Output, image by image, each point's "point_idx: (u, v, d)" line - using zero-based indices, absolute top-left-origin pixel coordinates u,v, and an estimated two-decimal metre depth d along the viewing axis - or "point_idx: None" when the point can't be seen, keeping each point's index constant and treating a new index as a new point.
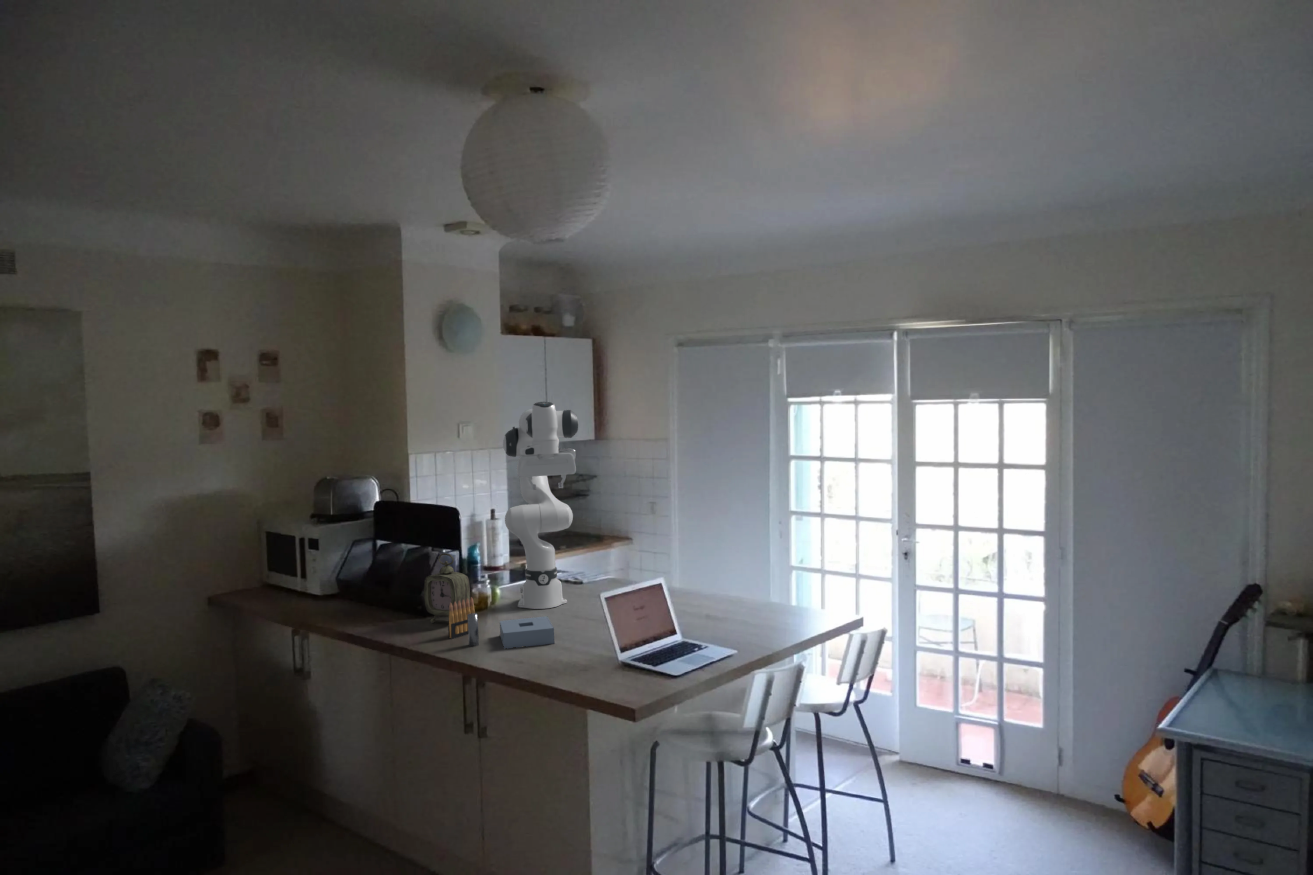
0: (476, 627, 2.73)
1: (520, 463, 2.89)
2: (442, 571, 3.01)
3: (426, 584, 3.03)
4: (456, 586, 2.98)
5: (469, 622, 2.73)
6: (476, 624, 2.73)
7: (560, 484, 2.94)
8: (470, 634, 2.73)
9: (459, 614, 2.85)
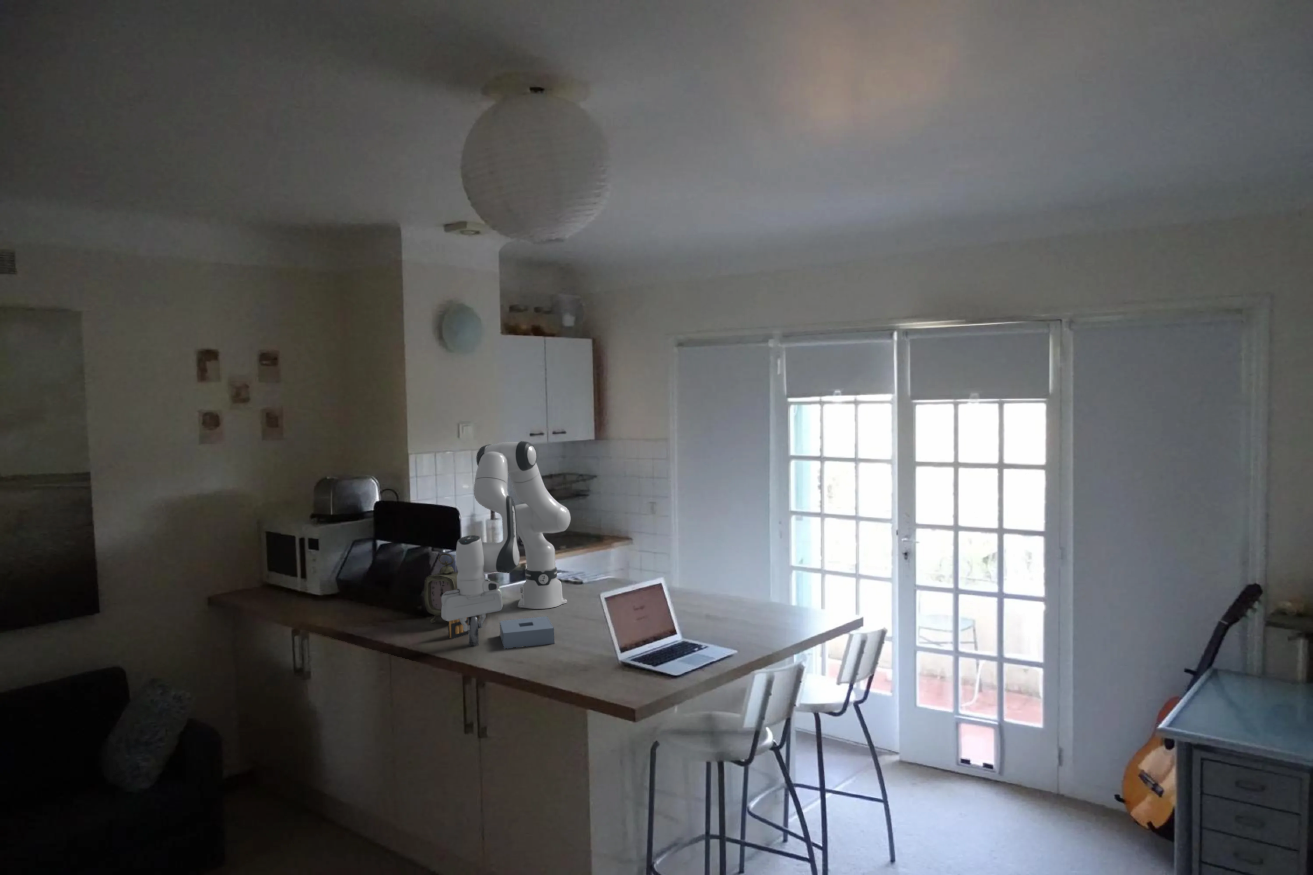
0: (476, 627, 2.73)
1: None
2: (442, 571, 3.01)
3: (426, 584, 3.03)
4: (456, 586, 2.98)
5: (469, 622, 2.73)
6: (476, 624, 2.73)
7: None
8: (470, 634, 2.73)
9: None
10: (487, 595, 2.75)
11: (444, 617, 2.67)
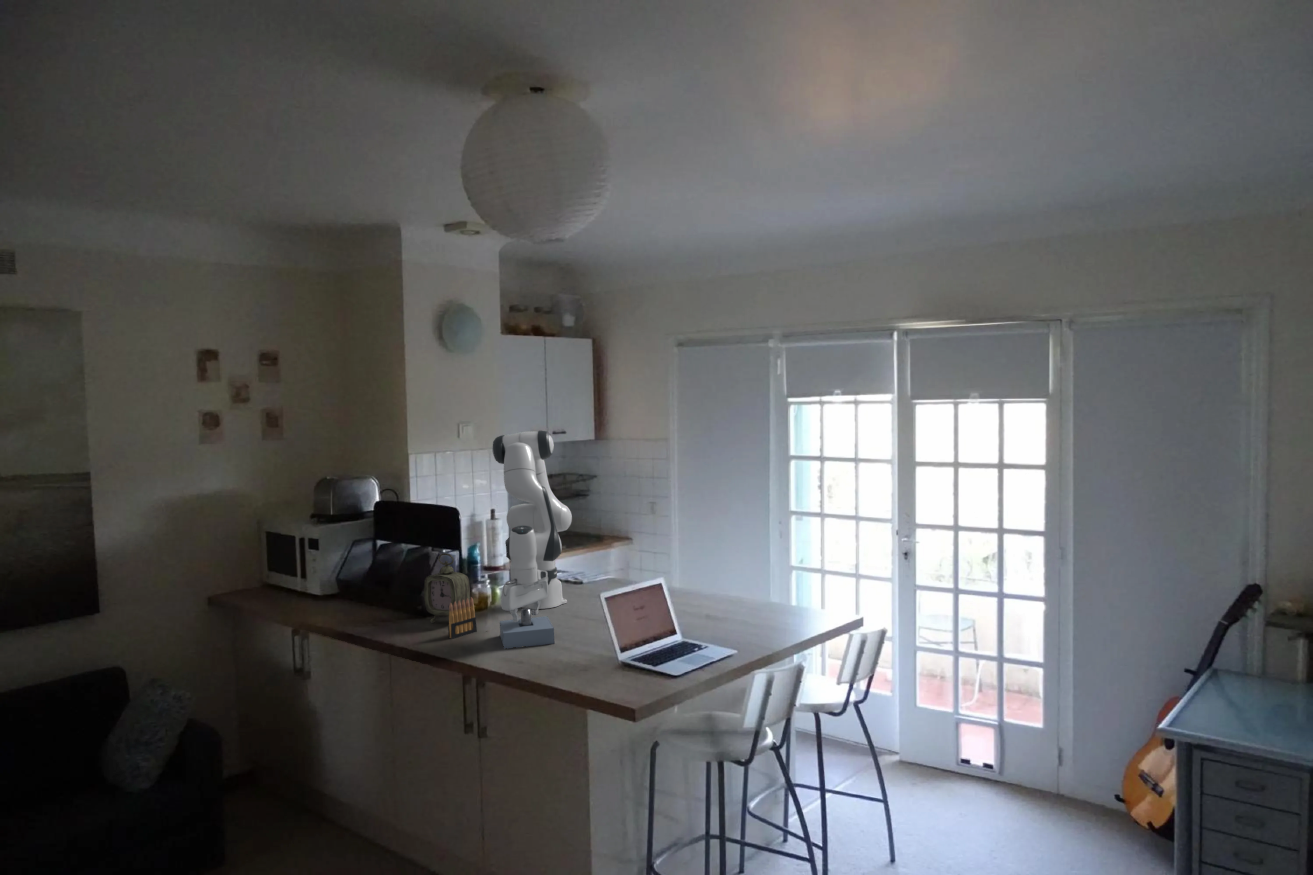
0: (530, 621, 2.78)
1: None
2: (442, 571, 3.01)
3: (426, 584, 3.03)
4: (456, 586, 2.98)
5: (524, 617, 2.77)
6: (530, 618, 2.78)
7: None
8: None
9: (459, 614, 2.85)
10: (538, 583, 2.81)
11: (507, 607, 2.69)
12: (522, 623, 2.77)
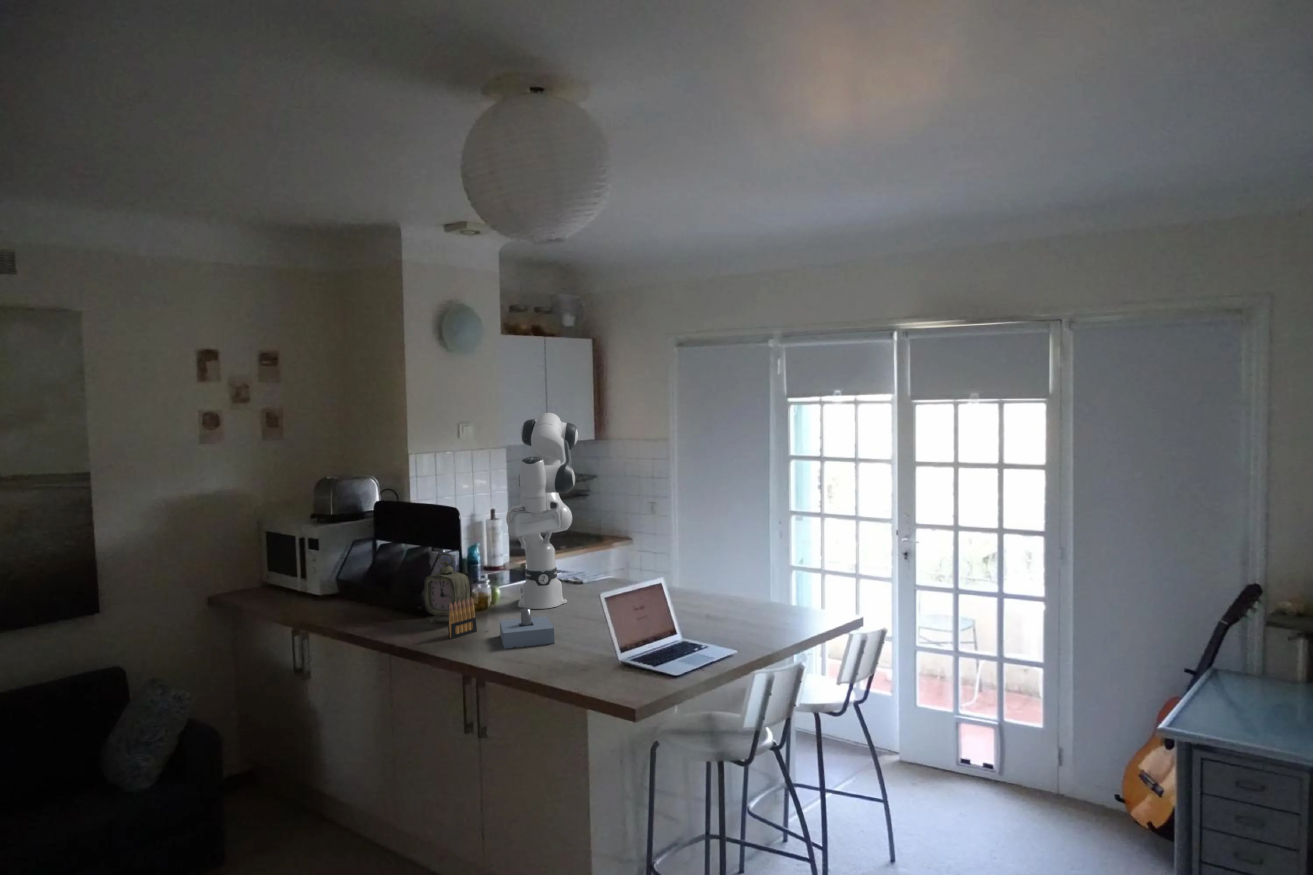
0: (530, 621, 2.78)
1: None
2: (442, 571, 3.01)
3: (426, 584, 3.03)
4: (456, 586, 2.98)
5: (524, 617, 2.77)
6: (530, 618, 2.78)
7: None
8: None
9: (459, 614, 2.85)
10: (548, 514, 2.88)
11: (512, 533, 2.78)
12: (522, 623, 2.77)
